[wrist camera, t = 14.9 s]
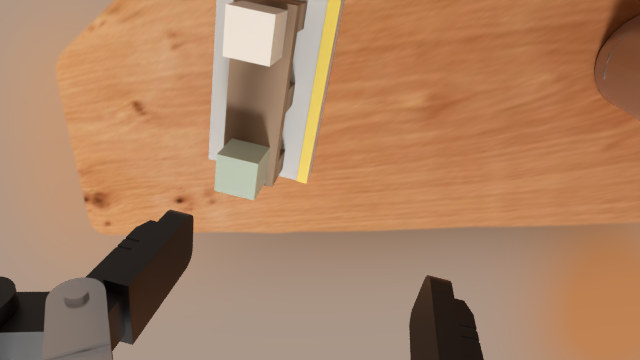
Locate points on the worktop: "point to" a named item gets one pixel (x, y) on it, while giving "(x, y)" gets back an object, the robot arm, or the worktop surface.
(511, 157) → the worktop surface
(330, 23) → the block
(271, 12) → the white crate
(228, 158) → the block
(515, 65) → the worktop surface
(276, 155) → the pallet
